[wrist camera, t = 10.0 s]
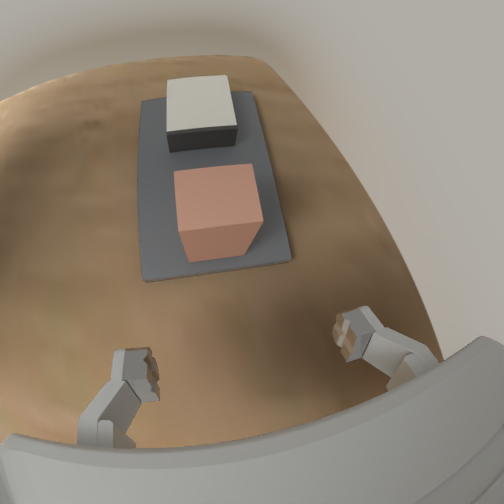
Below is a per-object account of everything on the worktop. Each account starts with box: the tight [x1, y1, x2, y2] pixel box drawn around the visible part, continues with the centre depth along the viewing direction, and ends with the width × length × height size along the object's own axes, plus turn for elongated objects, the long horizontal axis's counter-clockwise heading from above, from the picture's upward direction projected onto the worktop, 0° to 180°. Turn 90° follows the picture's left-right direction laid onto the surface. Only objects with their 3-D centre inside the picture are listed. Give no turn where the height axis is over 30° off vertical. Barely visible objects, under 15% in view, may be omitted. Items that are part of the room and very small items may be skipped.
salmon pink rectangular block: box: [174, 164, 264, 263], centre depth 20 cm, size 5×4×9 cm
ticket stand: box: [138, 75, 292, 282], centre depth 26 cm, size 14×22×5 cm, turn 10°
